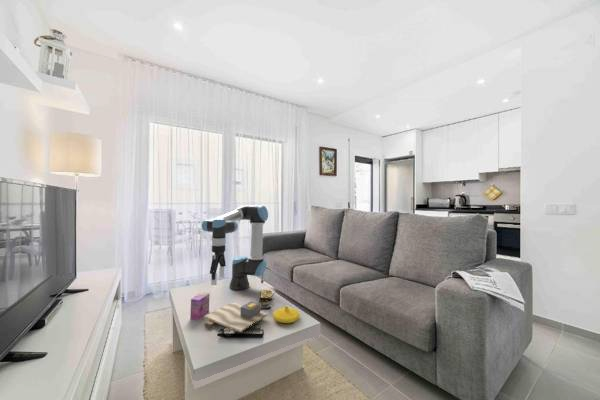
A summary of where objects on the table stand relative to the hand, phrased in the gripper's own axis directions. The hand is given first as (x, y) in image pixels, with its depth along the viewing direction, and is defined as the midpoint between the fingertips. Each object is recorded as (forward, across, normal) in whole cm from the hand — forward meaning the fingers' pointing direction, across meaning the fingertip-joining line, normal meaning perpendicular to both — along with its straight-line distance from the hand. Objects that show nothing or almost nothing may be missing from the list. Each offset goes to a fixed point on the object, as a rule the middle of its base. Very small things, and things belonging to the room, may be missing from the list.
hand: (217, 281), depth 144 cm
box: (+21, 0, -10) cm, 23 cm away
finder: (+17, +4, +20) cm, 27 cm away
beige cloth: (+21, +6, +12) cm, 25 cm away
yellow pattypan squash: (+21, +2, +41) cm, 46 cm away
